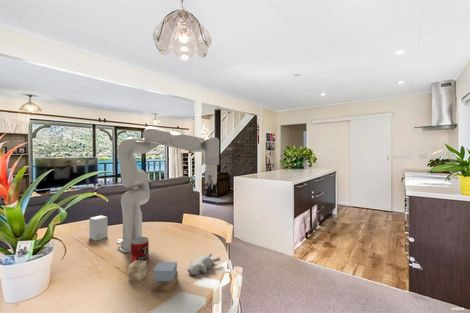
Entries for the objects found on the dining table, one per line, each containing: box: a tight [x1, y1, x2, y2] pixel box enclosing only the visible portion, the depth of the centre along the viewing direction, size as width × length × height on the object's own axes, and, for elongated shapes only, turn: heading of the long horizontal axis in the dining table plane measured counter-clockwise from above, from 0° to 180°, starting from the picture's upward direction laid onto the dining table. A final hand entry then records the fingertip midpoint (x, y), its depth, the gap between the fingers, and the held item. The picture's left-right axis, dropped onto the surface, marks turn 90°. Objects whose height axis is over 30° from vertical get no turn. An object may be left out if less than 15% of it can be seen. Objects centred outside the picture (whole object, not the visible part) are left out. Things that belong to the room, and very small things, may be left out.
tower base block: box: [150, 270, 179, 293], centre depth 88 cm, size 8×8×4 cm
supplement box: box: [89, 214, 109, 242], centre depth 138 cm, size 7×7×13 cm
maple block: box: [127, 260, 147, 282], centre depth 94 cm, size 5×5×6 cm
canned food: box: [130, 236, 150, 265], centre depth 107 cm, size 8×8×11 cm
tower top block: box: [153, 261, 178, 281], centre depth 88 cm, size 7×7×4 cm
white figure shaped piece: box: [187, 252, 221, 276], centre depth 102 cm, size 10×5×15 cm
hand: (211, 194), depth 116 cm, fingers open, 9 cm apart
